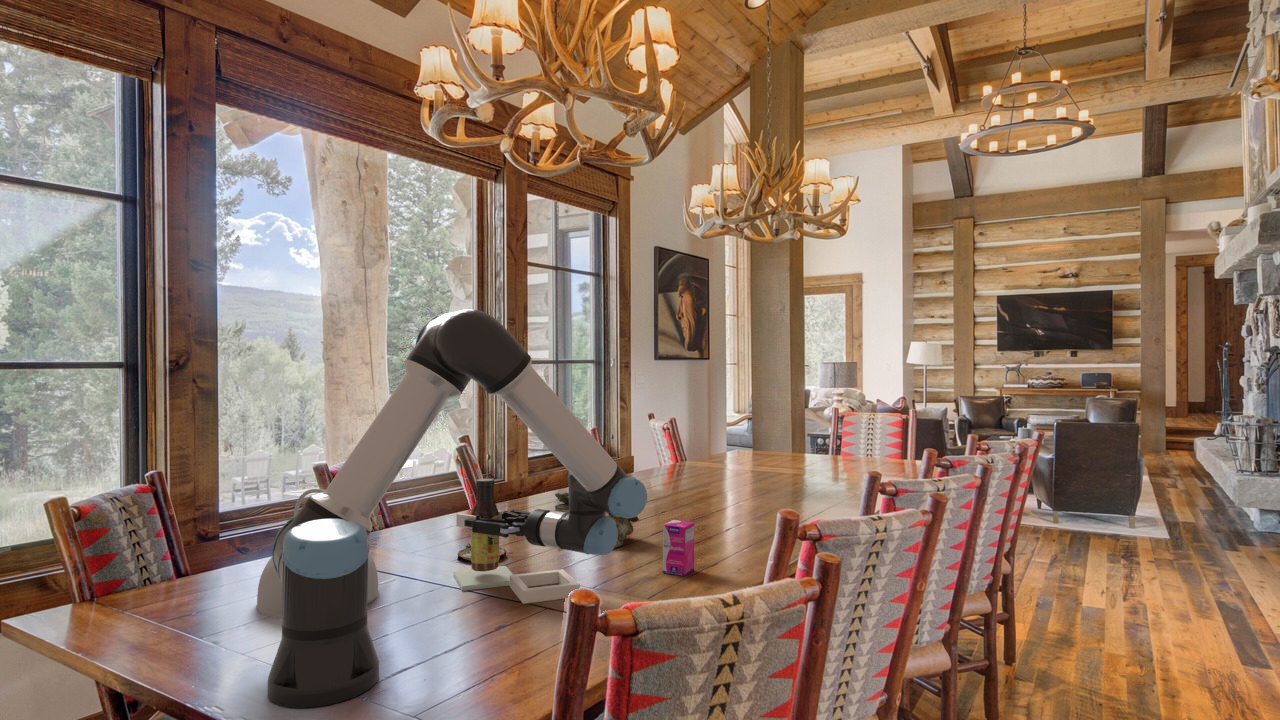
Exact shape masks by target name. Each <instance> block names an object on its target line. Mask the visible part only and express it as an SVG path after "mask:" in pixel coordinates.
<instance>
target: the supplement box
mask: <svg viewBox="0 0 1280 720" xmlns="http://www.w3.org/2000/svg"><path fill="white" fill-rule="evenodd" d="M694 571H695V522H693V521H686V520H677V519H676V520H675V519H672V520H670V521H668V522H666V523H664V524H663V525H662V573H664V574H670V575H676V576H680V577H686V576H687V575H689V574H691V573H693V572H694Z"/></svg>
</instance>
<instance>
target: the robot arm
mask: <svg viewBox="0 0 1280 720" xmlns="http://www.w3.org/2000/svg"><path fill="white" fill-rule="evenodd" d="M532 361H533V358H532V356H531V355H530V354H529V353H528V352H527V351H526V350H525V349H524V348H523V346H522V345H521V344H520V343H519V342H518V340H517V339H516V338H515V337H514V336H513V335H512V334H511V333H510V331H508V329H507V328H506V327H505V326H504V325H503V324H502V323H501V322H500V321H499V320H498V319H496V318H495V317H493V316H492V315H491V314H489V313H487V312H484V311H481V310H479V309H474V308H469V309H461V310H458V311H453V312H445V313H441V314H438V315H436V316H434V317H432V318H431V319H429V320H428V321H427V322H426V323H425V324H424V325H423V326H422V327H421V329H420V330H419V332H418V334H417V336H416V341H415V346H414V347H413V348H412V350H411V351H410V352H409V354H408V355H407V357H406V359H405V361H404V366H405V375H404V376H403V378H402V379H401V381H400V382H399V384H398V385H397V387H396V388H395V389H394V391H393V393H391V395H390V397H389V398H388V400H387V401H386V403H385V404H384V405H383V407H382V408H381V410H380V411H379V413H378V414H377V416H376V417H375V419H374V420H373V421H372V422H371V424H370V425H369V427H368V428H367V430H366V431H365V433H364V434H363V436H362V437H360V438H361V439H360V440H359V442H358V443H357V445H355V447H354V448H353V450H352V451H351V453H350V454H349V456H348V457H347V458H346V460H345V461H344V463H343V464H342V466H341V467H340V469H339V470H338V472H337V473H336V474H335V476H334V477H333V479H332V480H331V482H330V483H329V485H328V486H327V487H326V488H325V489H324V490H325V491H323V492H321V493H312V494H311V495H309V497H308V499H307V500H306V502H305V503H304V504H303V505H302V507H301V508H300V509H299V510H298V514H297V515H296V516H294V515H293V517H292V518H290V519H289V520H287V521H286V522H285V524H283V526H282V527H281V528H280V529H279V530H278V532H277V535H276V536H275V539H274V541H273V544H272V553H271V554H272V556H273V557H272V556H271V557H272V559H273V563H274V567H275V570H276V572H277V573H278V575H279V577H280V580H281V583H282V618H281V640H280V643H279V645H278V649H277V651H276V654H275V657H274V660H273V662H272V664H271V669H270V671H269V675H268V678H267V697H268V699H269V700H270V701H271V702H272V703H274V704H276V705H279V706H282V707H285V708H286V707H287V708H316V707H322V706H328V705H334V704H337V703H341V702H343V701H347V700H350V699H352V698H355V697H357V696H360V695H361V694H363V693H365V692H367V691H369V690H370V689H371V688H373V687H374V686H375V685H376V683H377V682H378V680H379V678H380V661H379V656H378V655H377V651H376V649H375V645H374V643H373V640H372V637H371V633H370V631H369V628H368V627H369V626H368V604H367V598H368V555H369V552H370V543H369V538H368V537H369V535H370V533H371V532H372V530H373V526H372V521H371V515H372V514H373V512H374V511H375V510H376V508H377V506H379V503H380V501H381V500H382V499H383V498H384V496H385V494H386V493H387V491H388V489H389V488H390V487H391V486H392V485H393V482H394V481H395V479H396V477H397V476H398V475H399V474H400V472H401V470H402V469H403V467H404V466H405V464H406V463H407V461H408V460H409V458H410V457H411V455H412V454H413V452H414V451H415V450H416V447H418V445H419V443H420V442H421V440H422V439H423V437H424V436H425V434H426V432H427V431H428V430H429V428H430V427H431V425H432V424H433V423H434V420H436V418H437V417H438V415H439V413H440V411H441V410H442V408H443V407H444V406H445V405H446V402H448V400H449V399H452V398H457V397H460V396H461V395H462V394H463V392H464V391H465V389H466V388H467V386H468V385H469V383H471V380H473V381H474V382H476V383H477V384H478V385H479V386H481V388H483V389H484V390H485V391H486V393H487V394H488V395H489V396H498V397H499V398H500V399H502V401H503V402H504V403H505V404H506V406H508V407H509V408H510V410H511V411H513V413H514V414H515V415H516V416H517V417H518V418H519V419H520V420H521V421H522V423H523V424H524V425H525V426H526V427H527V428H528V429H529V430H530V431H531V432H532V433H533V434H534V436H536V437H537V438H538V440H539V441H540V442H541V443H542V444H543V445H544V446H545V447H546V449H548V450H549V451H550V452H551V453H552V454H553V456H554V457H555V458H556V459H557V461H559V462H560V463H561V464H562V466H564V468H565V469H566V470H567V471H568V475H567V481H568V493H569V513H567V512H560V511H555V510H548V509H541V508H537V509H534V510H532V511H531V512H529V511H524V510H523V511H522V510H518V509H511V510H510V511H509V510H504V511H502V510H498V512H499V519H488V518H481V517H480V515H476V516H473V515H472V514H465V513H461V512H460V513H456V527H460V528H467V529H471V528H472V532H474V533H482V534H489V535H497V536H499V537H502V538H504V539H507V538H508V537H510V536H509V535H513V536H516V537H524V538H526V541H527V542H528V543H529V544H530V545H532V546H539V547H547V548H552V549H557V551H558V552H562V551H563V550H565V551H570V552H576V553H582V554H585V555H588V556H589V555H595V556H596V555H597V556H607V555H609V554H610V553H611V552H612V551H613V550H614V547H615V545H616V542H617V538H618V529H617V527H616V523H615V521H614V520H613V519H610V518H608V517H606V512H607V513H610V514H612V515H614V516H616V517H623V518H633V517H635V516H637V517H638V516H639V515H640V514H641V513H642V512H643V510H644V509H645V508H646V505H647V501H648V491H647V488H646V486H645V484H644V483H643V482H642V481H641V480H639V479H638V478H636V477H634V476H629V475H628V474H627V473H626V472H625V471H624V469H622V468H621V466H620V465H619V464H618V463H617V462H616V461H615V460H614V459H613V457H611V456H610V454H609V453H608V451H606V450H605V449H604V447H602V445H601V444H600V443H599V442H598V441H597V439H596V438H595V437H594V436H593V435H592V434H591V433H590V432H589V430H588V429H587V428H586V427H585V426H584V424H582V423H581V421H580V420H579V419H578V418H577V417H576V416H575V414H574V413H573V412H572V411H571V410H570V409H569V408H568V407H567V405H566V404H565V403H564V402H563V400H561V398H559V397H560V396H558V395H557V394H556V393H555V391H554V390H553V389H552V388H551V387H550V386H549V384H547V382H546V381H545V380H544V379H543V378H542V376H540V375H539V374H538V372H537V371H536V369H534V368H533V367H532V366H533V365H532V363H533V362H532ZM615 548H616V547H615Z"/></svg>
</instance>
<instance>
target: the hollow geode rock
mask: <svg viewBox="0 0 1280 720" xmlns="http://www.w3.org/2000/svg"><path fill="white" fill-rule="evenodd" d="M554 496H555V497H556V498H557V500H559V502H561V504H560V503H559V504H557V505H554V507H555V510H554V511H560V512H567V513H569V492H564V493H557V492H556V493H554ZM606 517H608V518H610V519H613V520H614V521H615V523H616V527H617V529H618V538H617V542H616V545H615V547H614V548H618V547H621V546H622V545H623V544H624V540H625V539H627V537H628V536H630V535H632V534H633V532H634V527H633V524H632V523H634V522H635V523H637V522H638V521H639V522H640V519H639V517H638V515H637V516H635V517H633V518H623V517H616V516H614V515H612V514H610V513H607V512H606ZM631 522H632V523H631Z"/></svg>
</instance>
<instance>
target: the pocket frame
mask: <svg viewBox="0 0 1280 720" xmlns="http://www.w3.org/2000/svg"><path fill="white" fill-rule="evenodd" d="M509 588H510V589H511V590H512V592H513V593H514V594H515V595H516V597H517V599H519V600H520V602H521V603H522V604H523V605H525V604H531V603H539V602H540V603H541V602H545V601H546V602H548V601H554V600H555V601H556V600H561V599H569V598H568V595H569V593H570V592H571V591H573V590H575V589H579V588H580V589H581V584H580V583H579V582H578V581H577V580H576V579H575V578H573V577H572V576H571V575H570V573H567V572H566V571H565V570H564V569H563V568H561V569H552V570H545V571H536V572H525V573H519V574H518V573H516V574H513V575H510V585H509Z"/></svg>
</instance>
